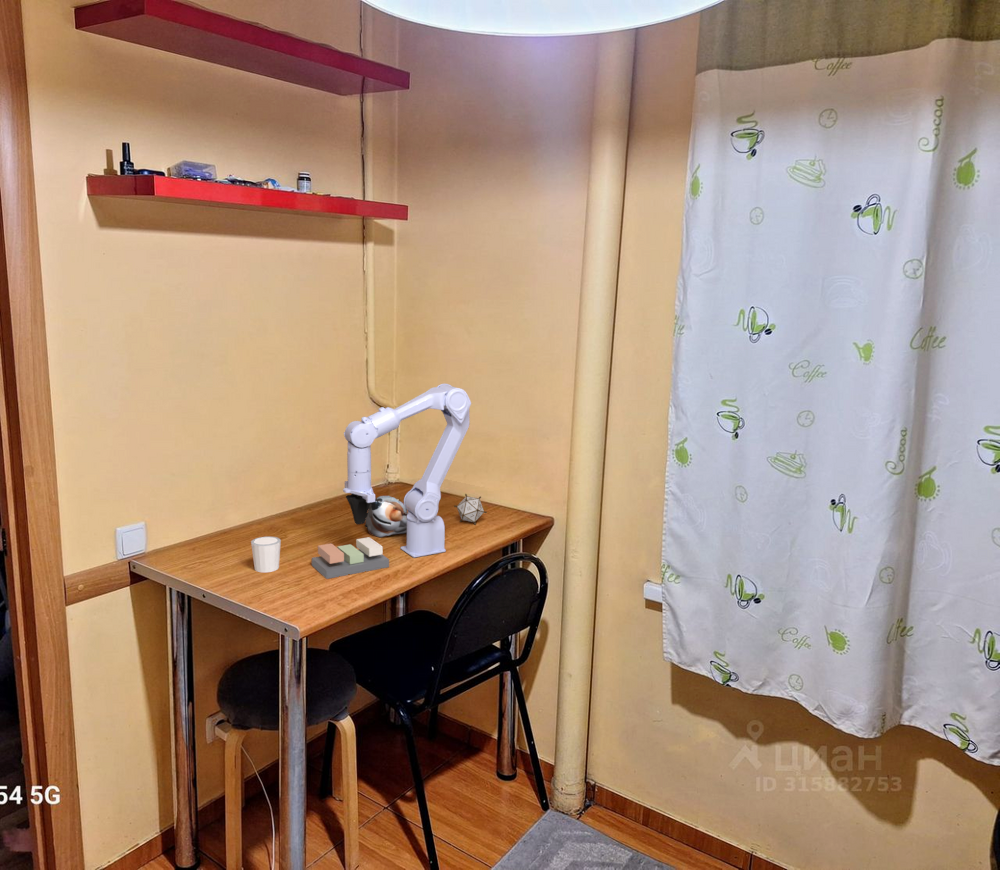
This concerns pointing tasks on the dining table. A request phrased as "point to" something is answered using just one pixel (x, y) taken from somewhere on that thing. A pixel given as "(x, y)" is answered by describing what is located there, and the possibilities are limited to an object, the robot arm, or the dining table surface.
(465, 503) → the game die
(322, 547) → the terracotta button
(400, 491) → the dining table surface
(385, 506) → the lucky cat figurine
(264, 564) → the shot glass
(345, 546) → the sage button
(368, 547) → the off-white button
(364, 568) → the button panel
